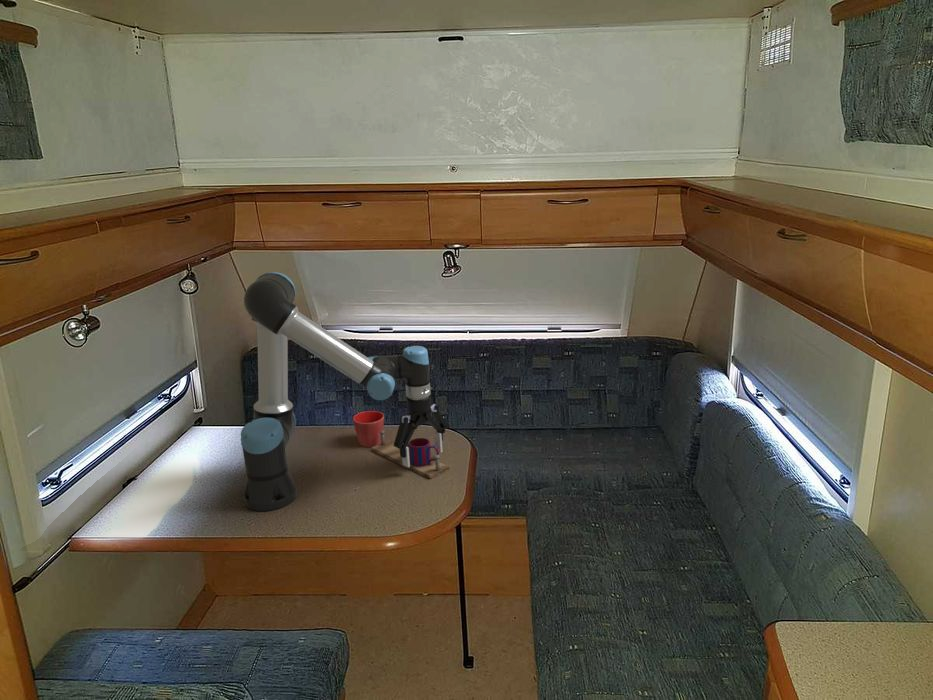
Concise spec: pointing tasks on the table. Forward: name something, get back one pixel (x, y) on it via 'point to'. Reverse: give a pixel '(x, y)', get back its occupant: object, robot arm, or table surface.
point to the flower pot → (369, 427)
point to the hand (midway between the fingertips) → (422, 458)
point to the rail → (393, 454)
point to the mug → (421, 452)
